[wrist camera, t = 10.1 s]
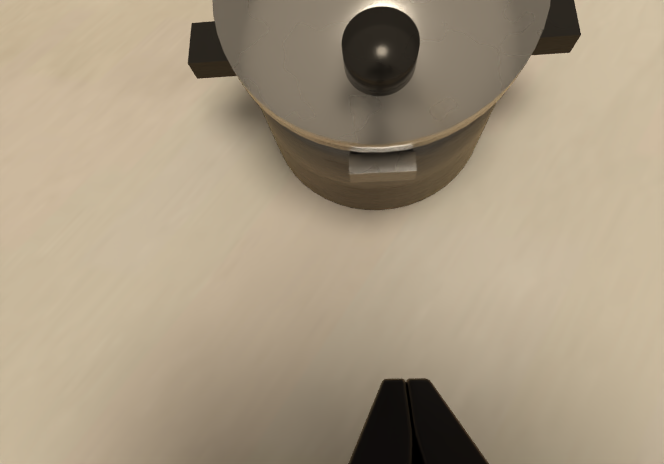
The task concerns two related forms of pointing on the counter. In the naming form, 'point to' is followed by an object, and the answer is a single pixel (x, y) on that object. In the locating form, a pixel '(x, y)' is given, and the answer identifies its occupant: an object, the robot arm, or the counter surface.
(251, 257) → the counter surface
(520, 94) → the counter surface
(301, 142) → the cooker pot
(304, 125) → the cooker lid
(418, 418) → the robot arm
